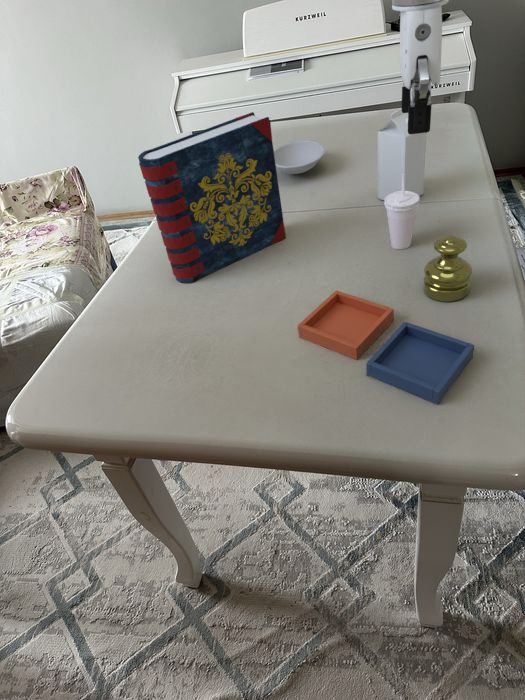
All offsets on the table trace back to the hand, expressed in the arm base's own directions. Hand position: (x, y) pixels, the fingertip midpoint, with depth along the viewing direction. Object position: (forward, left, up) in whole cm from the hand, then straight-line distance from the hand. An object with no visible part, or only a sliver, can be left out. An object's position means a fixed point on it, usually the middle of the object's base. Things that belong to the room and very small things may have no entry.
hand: (414, 121), depth 82 cm
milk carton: (+13, -21, -25) cm, 35 cm away
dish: (+44, -24, -25) cm, 56 cm away
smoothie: (+3, -3, -25) cm, 25 cm away
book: (+32, +16, -25) cm, 44 cm away
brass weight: (-11, +7, -25) cm, 28 cm away
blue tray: (-16, +26, -25) cm, 39 cm away
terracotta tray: (-2, +24, -25) cm, 34 cm away
